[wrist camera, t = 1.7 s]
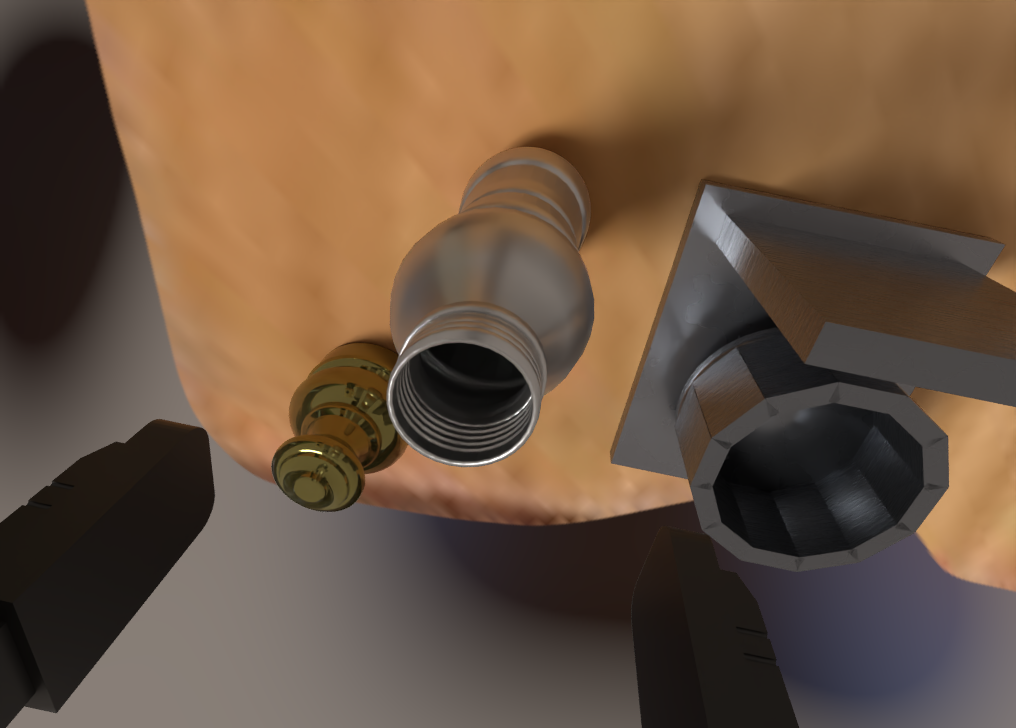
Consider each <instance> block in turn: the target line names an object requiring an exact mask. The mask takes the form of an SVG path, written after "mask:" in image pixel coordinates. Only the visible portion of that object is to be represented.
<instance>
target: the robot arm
mask: <svg viewBox="0 0 1016 728" xmlns="http://www.w3.org/2000/svg"><path fill="white" fill-rule="evenodd" d="M213 483H214V482H213V473H212V464H211V456H210V447H209V438H208V434H207V432H206V431H205V430H204V429H203V428H200V427H195V426H190V425H186V424H181V423H176V422H172V421H167V420H162V419H156V420H153V421H151V422H150V423H148V424H147V425H146V426H145V427H143V428H142V429H141V430H140V431H139V432H137V433H136V434H135V435H134V436H133V437H132V438H130V439H129V440H128V441H127V442H126V443H120V442H114V443H112V444H110V445H108V446H106V447H104V448H102V449H99V450H97V451H95V452H93V453H91V454H89V455H87V456H84V457H82V458H80V459H79V460H78V461H76V462H75V463H74V464H73V465H72V466H70V467H69V468H68V469H67V470H65V471H64V472H63V473H62V474H60V475H59V476H58V477H57V478H55V479H54V480H53V481H52V484H51V486H46V487H44V488H43V489H42V490H40V491H39V492H38V493H37V494H36V495H34V496H33V497H32V498H31V499H30V500H29V502H28V504H27V505H26V506H24V505H22V506H21V507H19V508H18V509H17V510H16V511H14V512H13V513H12V514H11V515H10V516H8V517H7V518H6V519H5V520H3V521H2V522H1V523H0V728H6V727H7V726H8V724H9V723H10V722H11V721H12V720H13V719H14V718H15V716H16V715H17V714H18V713H19V712H20V710H21V709H22V708H23V707H24V706H26V707H30V708H35V709H39V710H44V711H49V712H53V713H57V712H58V711H59V710H60V708H61V707H62V706H63V704H64V703H65V702H66V701H67V699H68V698H69V697H70V696H71V694H72V693H73V692H74V691H75V689H76V688H77V687H78V685H79V684H80V683H81V682H82V680H83V679H84V678H85V677H86V675H87V674H88V673H89V672H90V671H91V669H92V668H93V667H94V665H95V664H96V663H97V662H98V660H99V659H100V658H101V657H102V655H103V654H104V653H105V652H106V650H107V649H108V648H109V647H110V645H111V644H112V643H113V642H114V640H115V639H116V638H117V636H118V635H119V634H120V633H121V631H122V630H123V629H124V628H125V626H126V625H127V624H128V622H129V621H130V620H131V619H132V618H133V616H134V615H135V614H136V612H137V611H138V610H139V609H140V608H141V606H142V605H143V604H144V602H145V601H146V600H147V599H148V597H149V596H150V595H151V594H152V592H153V591H154V590H155V589H156V587H157V586H158V585H159V584H160V582H161V581H162V580H163V578H164V577H165V576H166V575H167V573H168V572H169V571H170V570H171V568H172V567H173V566H174V565H175V563H176V562H177V561H178V560H179V558H180V557H181V556H182V555H183V553H184V552H185V551H186V550H187V548H188V547H189V546H190V544H191V543H192V542H193V541H194V539H195V538H196V537H197V536H198V534H199V533H200V532H201V531H202V529H203V528H204V526H205V525H206V523H207V521H208V519H209V517H210V514H211V512H212V509H213V504H214V498H215V492H214V484H213ZM631 609H632V611H631V620H632V632H633V642H634V652H635V663H636V672H637V681H638V682H637V683H638V693H639V704H640V714H641V724H642V728H799V726H798V723H797V720H796V717H795V714H794V711H793V708H792V705H791V702H790V699H789V696H788V693H787V690H786V687H785V684H784V681H783V678H782V675H781V672H780V669H779V666H776V657H775V654H774V651H773V648H772V645H771V642H770V639H767V630H766V627H765V624H764V621H763V618H762V615H761V612H760V609H759V606H758V603H757V601H756V599H755V598H754V597H753V596H752V594H751V593H750V591H749V590H748V588H747V587H746V586H745V584H744V583H743V582H742V580H741V579H740V577H739V576H738V575H737V573H734V572H730V571H725V570H720V568H719V565H718V561H717V557H716V554H715V551H714V547H713V543H712V541H711V539H710V537H709V536H708V535H706V534H702V533H697V532H693V531H688V530H683V529H678V528H673V527H669V526H662V527H661V528H660V530H659V531H658V533H657V535H656V538H655V540H654V542H653V545H652V547H651V550H650V552H649V554H648V557H647V559H646V561H645V564H644V566H643V569H642V571H641V573H640V575H639V578H638V580H637V583H636V585H635V589H634V593H633V599H632V608H631Z"/></svg>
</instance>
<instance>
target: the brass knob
mask: <svg viewBox="0 0 1016 728" xmlns="http://www.w3.org/2000/svg"><path fill="white" fill-rule="evenodd" d="M398 356H399V355H397V354H396V353H394V352H392V351H391V350H388V349H386V348H384V347H381V346H378V345H374V344H368V343H352V344H347V345H343V346H341V347H338V348H336V349H334V350H333V351H331V352H330V353H329V354H327V355H326V356H325V357H324V359H323V360H322V361H321V362H320V364H318V365H317V366H316V367H315V368H314V369H313V370H312V371H311V373H310V374H309V376H308V377H307V379H306V380H305V381H304V382H302V383H301V384H300V385H299V387H298V388H297V389H296V391H295V392H294V394H293V396H292V399H291V402H290V406H289V421H290V426H291V429H292V432H293V434H294V436H295V437H293V438H291V439H289V440H287V441H285V442H284V443H283V444H282V445H281V446H280V447H279V448H278V449H277V451H276V453H275V455H274V457H273V460H272V466H271V468H272V474H273V477H274V480H275V482H276V484H277V485H278V487H279V488H280V489H281V490H282V492H283V493H284V494H285V495H286V496H287V497H288V498H290V499H291V500H292V501H294V502H295V503H297V504H299V505H301V506H303V507H305V508H308V509H311V510H315V511H320V512H336V511H341V510H344V509H346V508H348V507H350V506H352V505H353V504H354V503H355V502H356V501H357V500H358V499H359V497H360V496H361V494H362V492H363V490H364V486H365V474H370V473H375V472H379V471H381V470H384V469H386V468H388V467H389V466H391V465H393V464H394V463H395V462H396V461H397V460H398V459H399V458H400V457H401V456H402V455H403V453H404V452H405V450H406V448H407V446H408V443H406V442H405V441H404V440H403V439H402V437H401V436H400V435H399V433H398V432H397V430H396V429H395V428H394V425H393V423H392V421H391V419H390V416H389V412H388V408H387V387H388V383H389V378H390V374H391V372H392V370H393V368H394V366H395V364H396V362H397V360H398Z"/></svg>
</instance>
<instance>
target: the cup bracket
mask: <svg viewBox="0 0 1016 728" xmlns="http://www.w3.org/2000/svg"><path fill="white" fill-rule="evenodd" d="M1004 246H1005V244H1003V243H1000V242H998V241H996V240H994V239H991V238H988V237H983V236H978V235H973V234H968V233H963V232H958V231H954V230H949V229H944V228H939V227H934V226H929V225H924V224H919V223H914V222H909V221H904V220H899V219H894V218H889V217H884V216H879V215H874V214H869V213H864V212H859V211H854V210H850V209H845V208H840V207H835V206H830V205H825V204H820V203H815V202H810V201H805V200H800V199H795V198H790V197H785V196H780V195H775V194H770V193H765V192H760V191H755V190H750V189H746V188H741V187H736V186H731V185H726V184H721V183H716V182H711V181H706V180H701V182H700V185H699V188H698V191H697V194H696V197H695V200H694V203H693V206H692V209H691V212H690V215H689V218H688V221H687V224H686V227H685V230H684V233H683V236H682V239H681V242H680V245H679V248H678V251H677V254H676V257H675V260H674V263H673V266H672V269H671V272H670V275H669V277H668V280H667V283H666V286H665V289H664V292H663V295H662V298H661V301H660V304H659V307H658V310H657V313H656V316H655V319H654V322H653V325H652V328H651V331H650V334H649V337H648V340H647V343H646V346H645V349H644V352H643V355H642V358H641V361H640V364H639V367H638V370H637V373H636V376H635V379H634V382H633V385H632V388H631V391H630V394H629V397H628V400H627V403H626V406H625V409H624V412H623V415H622V418H621V421H620V424H619V427H618V430H617V433H616V436H615V439H614V442H613V445H612V448H611V451H610V457H611V463H612V464H617V465H622V466H627V467H632V468H637V469H641V470H646V471H651V472H656V473H661V474H666V475H670V476H675V477H680V478H685V479H688V480H689V484H690V488H691V492H692V495H693V499H694V503H695V506H696V510H697V514H698V517H699V521H700V524H701V528H702V530H703V531H704V532H705V533H707V534H708V535H709V536H711V537H712V538H713V539H714V540H716V541H717V542H718V543H719V544H721V545H722V546H723V547H725V548H726V549H727V550H728V551H730V552H731V553H732V554H734V555H735V556H736V557H738V558H739V559H740V560H742V561H747V562H752V563H757V564H761V565H766V566H771V567H776V568H781V569H785V570H790V571H795V572H796V571H797V572H799V571H806V570H813V569H819V568H826V567H833V566H840V565H846V564H853V563H858V561H859V562H861V561H863V560H865V559H867V558H869V557H870V556H872V555H874V554H876V553H878V552H880V551H882V550H884V549H885V548H887V547H889V546H891V545H893V544H895V543H897V542H898V541H900V540H902V539H904V538H906V537H908V536H910V535H912V534H913V533H914V532H916V530H917V529H918V528H919V526H920V525H921V524H922V522H923V521H924V520H925V518H926V517H927V516H928V514H929V513H930V512H931V510H932V509H933V508H934V506H935V505H936V504H937V502H938V501H939V500H940V498H941V497H942V496H943V494H944V493H945V492H946V490H947V489H948V488H949V462H948V436H947V435H946V433H945V432H944V431H943V430H942V429H941V428H940V427H939V426H938V425H937V424H936V423H935V422H934V421H933V420H932V419H931V418H930V417H929V416H928V415H927V414H926V413H925V412H924V411H923V410H922V409H921V408H920V407H919V406H918V405H917V404H916V403H915V402H914V401H913V400H912V399H911V398H910V395H911V393H912V392H913V390H914V388H915V387H920V388H925V389H930V390H935V391H940V392H945V393H950V394H955V395H959V396H964V397H969V398H974V399H979V400H984V401H989V402H994V403H998V404H1003V405H1008V406H1013V407H1016V292H1014V291H1012V290H1011V289H1009V288H1007V287H1005V286H1003V285H1001V284H1000V283H998V282H996V281H994V280H992V279H990V278H988V277H987V276H986V275H987V273H988V271H989V270H990V268H991V267H992V265H993V264H994V262H995V260H996V259H997V257H998V256H999V254H1000V253H1001V251H1002V249H1003V248H1004Z"/></svg>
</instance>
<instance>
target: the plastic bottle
mask: <svg viewBox="0 0 1016 728" xmlns="http://www.w3.org/2000/svg"><path fill="white" fill-rule="evenodd" d="M590 219H591V202H590V197H589V193H588V189H587V187H586V185H585V183H584V180H583V178H582V177H581V175H580V174H579V173H578V171H577V170H576V168H575V167H574V166H573V165H571V164H570V163H569V162H568V161H567V160H566V159H565V158H563V157H561V156H559V155H558V154H556V153H554V152H552V151H549V150H546V149H542V148H537V147H518V148H512V149H509V150H506V151H503V152H500V153H498V154H497V155H495V156H493V157H491V158H490V159H488V160H487V161H486V162H485V163H483V164H482V165H481V166H480V167H479V168H478V169H477V170H476V172H475V173H474V174H473V176H472V177H471V178H470V180H469V182H468V184H467V186H466V188H465V190H464V193H463V197H462V200H461V204H460V208H459V214H457V215H454V216H452V217H451V218H449V219H447V220H445V221H443V222H441V223H440V224H438V225H437V226H436V227H434V228H433V229H432V230H431V231H430V232H428V233H427V234H426V235H425V236H424V237H423V238H421V239H420V240H419V241H418V242H417V243H416V244H415V245H414V246H413V247H412V249H411V250H410V251H409V252H408V254H407V255H406V256H405V258H404V259H403V261H402V263H401V265H400V267H399V269H398V271H397V274H396V276H395V279H394V283H393V288H392V292H391V302H390V328H391V333H392V338H393V343H394V345H395V348H396V350H397V352H398V355H399V356H398V360H397V362H396V364H395V366H394V368H393V370H392V372H391V374H390V378H389V383H388V387H387V408H388V412H389V416H390V419H391V421H392V423H393V425H394V428H395V429H396V430H397V432H398V433H399V435H400V436H401V437H402V439H403V440H404V441H405V442H406V443H408V444H409V445H410V446H411V447H412V448H413V449H414V450H416V451H417V452H419V453H420V454H422V455H423V456H425V457H428V458H430V459H432V460H434V461H436V462H440V463H443V464H446V465H451V466H458V467H479V466H484V465H489V464H493V463H495V462H498V461H501V460H503V459H505V458H507V457H508V456H510V455H512V454H513V453H515V452H516V451H517V450H518V449H519V448H520V447H522V446H523V445H524V444H525V442H526V441H527V440H528V438H529V437H530V435H531V434H532V432H533V430H534V427H535V425H536V423H537V420H538V418H539V413H540V407H541V400H542V398H543V396H544V395H545V394H547V393H549V392H550V391H552V390H553V389H554V388H555V387H556V386H557V385H558V384H559V383H561V382H562V381H563V380H564V379H565V378H566V376H567V375H568V374H569V372H570V371H571V369H572V368H573V367H574V365H575V364H576V362H577V361H578V359H579V358H580V357H581V355H582V354H583V352H584V349H585V347H586V345H587V343H588V340H589V338H590V335H591V331H592V326H593V321H594V297H593V293H592V288H591V284H590V279H589V275H588V271H587V268H586V266H585V264H584V262H583V260H582V258H581V256H580V254H579V250H580V249H581V247H582V244H583V242H584V240H585V237H586V235H587V232H588V229H589V224H590Z"/></svg>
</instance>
